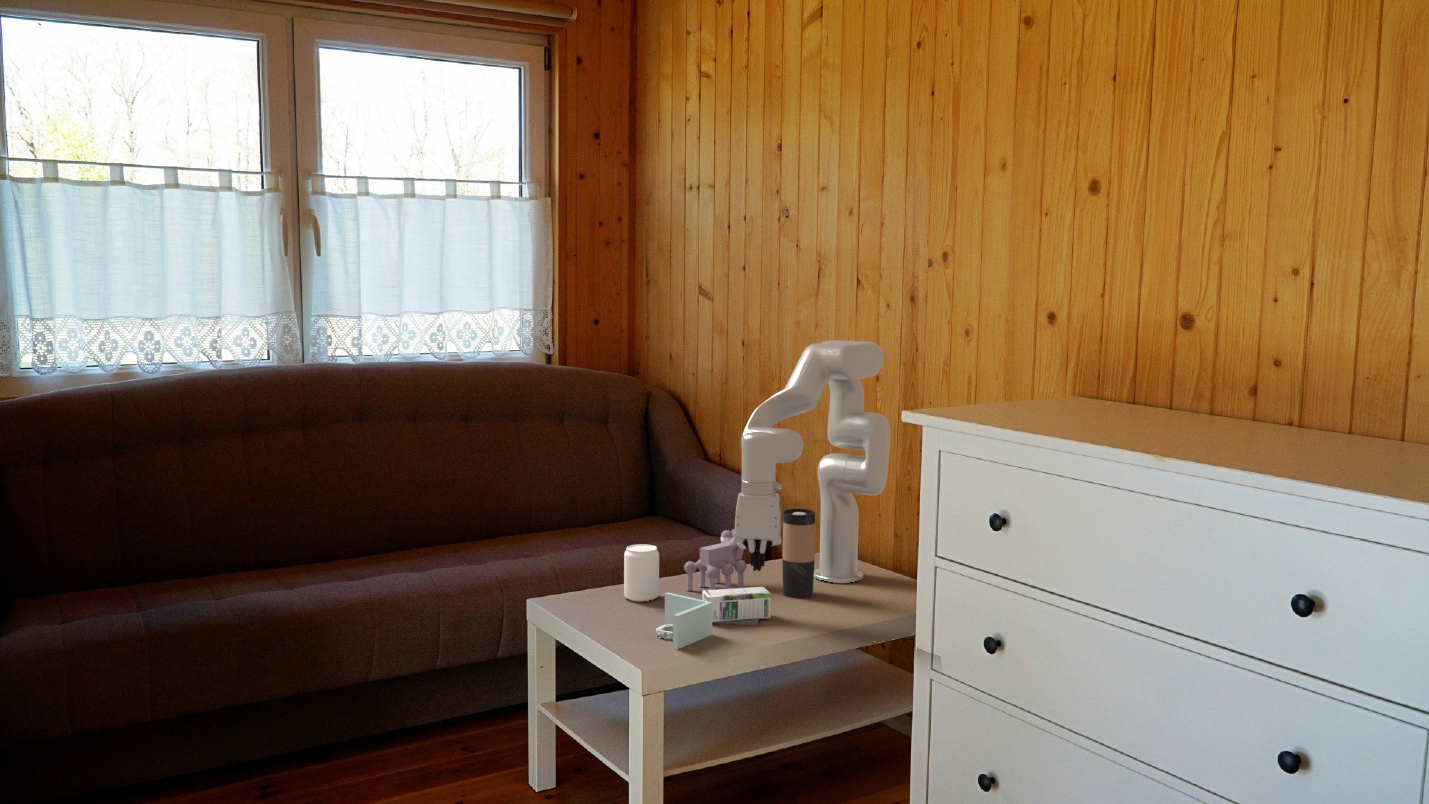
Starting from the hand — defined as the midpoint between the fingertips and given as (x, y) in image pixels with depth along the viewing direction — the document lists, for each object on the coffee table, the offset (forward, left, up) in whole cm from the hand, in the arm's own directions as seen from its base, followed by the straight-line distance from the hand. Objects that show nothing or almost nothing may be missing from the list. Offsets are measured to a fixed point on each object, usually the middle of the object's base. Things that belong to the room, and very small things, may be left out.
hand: (757, 569), depth 239 cm
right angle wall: (+18, -16, -11) cm, 27 cm away
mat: (0, -9, -10) cm, 14 cm away
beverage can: (-8, -28, -11) cm, 31 cm away
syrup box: (+1, +3, -7) cm, 8 cm away
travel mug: (-18, +8, -11) cm, 22 cm away
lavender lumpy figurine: (-21, -10, -11) cm, 26 cm away
